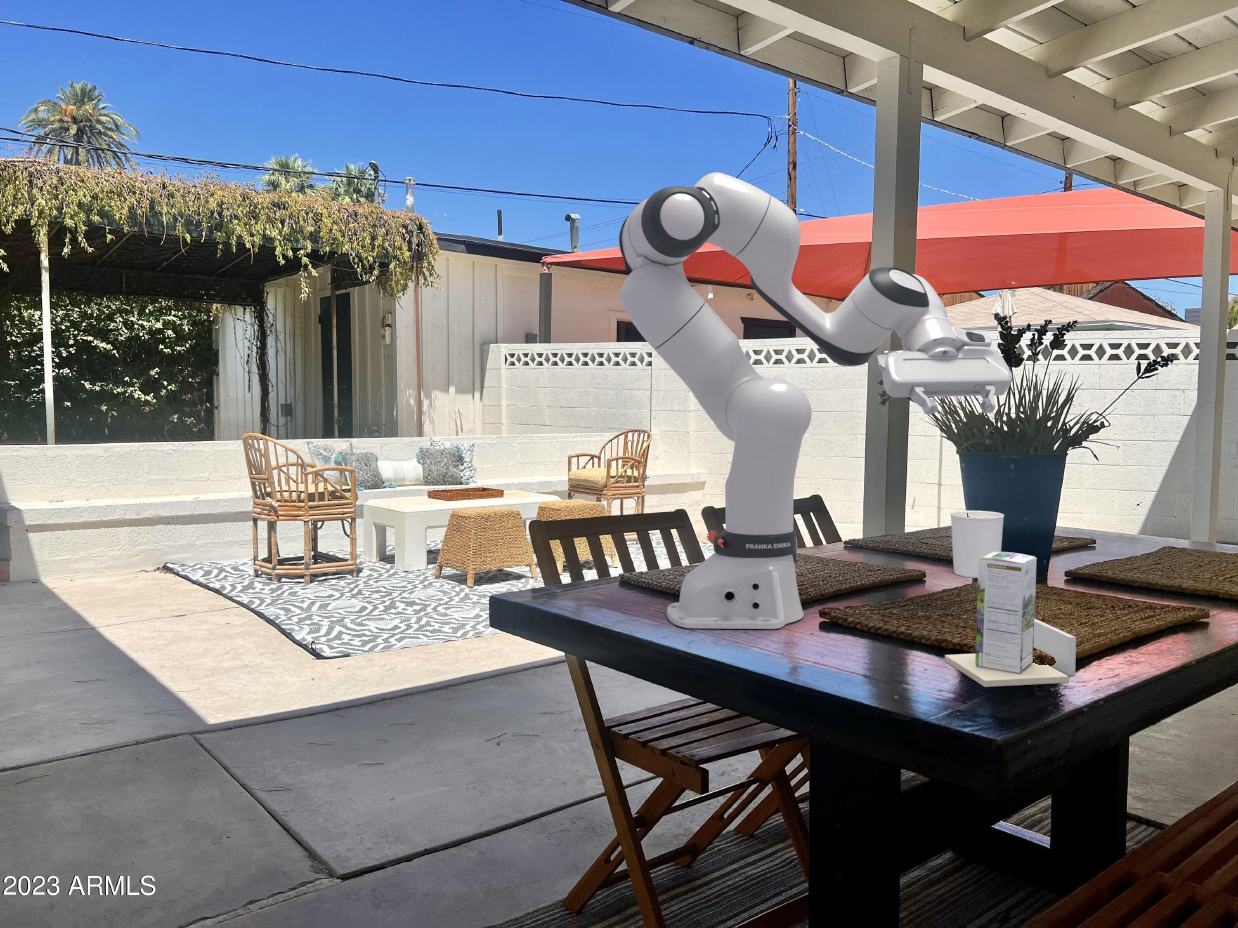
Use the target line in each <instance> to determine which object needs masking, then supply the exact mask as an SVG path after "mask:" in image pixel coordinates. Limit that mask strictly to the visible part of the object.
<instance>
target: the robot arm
mask: <svg viewBox="0 0 1238 928" xmlns="http://www.w3.org/2000/svg"><path fill="white" fill-rule="evenodd" d="M801 235H802V232H801V226H800V222H799V218H798V217H797V215H796V214H795V212H794V211H793V210H792V209H791V208H790V207H789V206H788V205H786V204H785V203H784V202H783V201H780V200H779V199H777V198H776V197H774V196H772V195H770V194H769V193H767V192H766V191H764V190H763V189H760V188H758V187H757V186H755V185H753V184H751V183H748V182H747V181H744V180H742V179H739V178H737V177H733V176H732V175H728V174H725V173H722V172H719V171H717V172H716V171H715V172H711V173H708V174H705V175H704V176H703V177H701V178H700V179H699V180H698V181H697V182H696V183H695V184H694V185H693V186H684V185H672V186H667V187H663V188H661V189H659V190H657V191H655V192H654V193H652V194H651V195H650V196H649V198H645V199H644V200H643V201H641V202H640V203H638V205H636V207H635V208H633V210H632V211H631V212H630V213H629V215H628V216H627V217H626V218H625V219H624V221H623V222H622V225H621V227H620V230H619V235H618V244H619V251H620V254H621V257H622V259H623V262H624V268H625V270H626V274H627V276H626V278H625V279H624V281H623V283H622V286H621V287H620V292H619V301H620V304H621V306H622V308H623V310H624V312H625V313H626V314H627V316H628V317H629V319H630V321H631V322H632V324H633V325H634V327H636V330H638V332H639V333H640V334H641V336H642V337H643V339H644V340H645V341H646V342H647V343H648V344H649V346H650V347H651V348H652V349H653V350H654V351H655V352H656V353H657V354H658V356H659V357H660V358H661V359H662V360H663V361H664V362H665V363H666V364H667V365H668V367H669V368H670V369H671V370H672V371H673V372H674V373H675V374H676V375H677V376H678V377H679V378H680V379H681V381H682V382H683V383H684V385H686V387H688V389H689V391H690V392H691V393H692V395H693V396H694V397H695V399H696V400H697V402H698V403H699V405H700V407H702V409H703V410H704V412H705V413H706V415H707V416H708V417H709V418H710V420H711V421H712V422H713V424H714V425H715V428H717V430H718V431H719V432H720V433H721V434H722V435H723V436H725V438H727V439H728V440H730V441H731V442H734V447H733V453H732V460H731V465H730V469H729V473H728V476H727V478H726V480H725V483H724V485H725V486H724V490H725V491H724V492H725V495H724V496H725V497H724V499H725V500H724V504H725V509H724V510H725V529H723V530H722V531H720V532H719V533H718V532H717V531H716V530H709V531H708V533H706V539H707V540H708V542H710V543H711V544H712V545H713V552H714V553H713V554H710V556H709V557H707V558H706V559H705V560H704V561H702V562H701V563H700V564H699V565H697V566H696V567H695V568H694V569H692V570H691V571H690V572H688V573H687V574H686V575H685V577H684V578H683V581H682V584H681V589H680V592H679V601H678V602H673V603H670V604H669V605H668V606H667V608H666V617H667V619H668V621H670V622H671V623H672V624H674V625H676V626H678V627H682V628H685V629H726V630H729V629H731V630H732V629H739V630H740V629H743V630H744V629H745V630H746V629H747V630H749V629H751V630H753V629H755V630H756V629H757V630H761V629H762V630H763V629H764V630H765V629H766V630H777V629H781V628H783V627H784V626H786V625H788V624H791V623H794V622H797V621H799V620H801V619H802V618H804V616H805V614H804V610H803V607H802V604H801V599H800V594H799V590H798V581H797V575H796V564H797V558H798V540H797V538H798V537H797V531H796V530H795V529H794V491H795V490H794V489H795V488H794V487H795V477H796V470H797V466H798V461H799V456H800V451H801V447H802V442H803V441H802V440H803V437H804V435H805V434H806V433H807V431H808V430H809V427H810V425H811V421H812V406H811V403H810V400H809V398H808V396H807V394H806V393H805V392H804V391H803V390H801V389H800V388H799V387H798V386H796V385H794V384H793V383H791V382H789V381H787V380H784V379H782V378H775V377H769V378H765V377H763V376H761V375H760V374H759V373H758V372H757V370H755V368H754V367H753V365H752V364H751V362H750V360H749V359H748V357H747V356H746V353H744V351H743V349H742V347H741V345H740V344H741V343H740V340H739V338H738V337H737V335H736V334H735V333H734V332H733V330H731V328H730V327H729V326H728V325H727V324H726V323H725V322H724V321H723V319H722V318H721V317H720V316H719V315H718V313H716V312H715V311H714V309H712V307H711V306H710V305H709V304H708V303H707V302H706V301H705V299H704V298H703V297H702V296H701V295H700V294H699V293H698V292H697V290H695V289H694V288H693V287H692V285H691V283H690V282H689V281H688V279H687V276H686V273H685V271H684V267H683V266H684V265H683V262H684V261H685V260H687V259H688V258H689V257H690V256H692V254H694V253H696V252H697V251H698V250H700V249H701V248H702V247H703V245H704V244H710V245H713V246H716V247H719V248H720V249H721V250H723V251H725V252H726V253H728V254H730V255H731V256H733V257H734V258H736V259H737V260H739V261H740V262H741V263H742V264H743V265H744V266H745V267H746V268H747V270H748V271H749V274H750V277H749V278H750V279H749V281H750V284H751V286H752V287H753V289H754V291H755V292H756V293H757V294H758V296H759V297H761V298H762V299H763V300H764V302H766V303H767V304H769V306H770V307H772V308H773V309H774V310H775V311H777V312H778V313H779V314H780V315H781V316H782V317H783V318H785V319H786V320H787V321H788V322H789V323H791V324H792V325H793V326H794V327H795V328H797V329H798V330H799V331H801V332H802V333H803V334H804V335H805V336H806V337H808V338H809V339H810V340H811V341H812V342H813V343H814V344H816V346H817V347H818V348H819V349H820V350H821V351H822V352H823V353H824V354H825V355H826V356H827V357H828V359H830V360H831V361H833V362H834V364H836V365H839V366H842V367H857V366H862V365H865V364H867V363H868V361H870V358H872V356H873V355H874V354H875V353H876V351H877V350H878V349H879V347H880V346H881V344H882V343H884V341H885V340H886V339H888V337H890V335H891V334H892V333H893V332H895V333H896V335H897V336H898V337H899V338H900V339H901V341H900V343H901V347H902V349H898V350H889V349H888V350H886V349H885V350H882V351H881V352H880V353H878V354H877V355H876V357H875V361H876V365H877V366H878V368H879V370H881V375H882V383H883V387H884V390H885V393H886V394H887V395H888V396H890V397H892V398H910V399H911V401H912V402H914V403H915V404H916V405H917V406H919V407H921V408H922V410H923V413H924V414H925V415H934V414H936V411H937V410H938V404H937V403H936V402H937V401H936V400H935V397H977V396H978V397H979V396H980V397H981V399H982V400H981V402H980V404H979V407H980V408H979V409H980V410H981V412H982V414H985V413H986V414H991V413H994V412H995V409H996V403H995V401H994V396H1004V395H1005V393H1006V392H1007V391H1008V389H1009V388H1010V386H1011V384H1012V383H1013V374H1012V371H1011V369H1010V367H1009V366H1008V364H1007V362H1006V361H1005V359H1004V358H1003V356H1002V355H1001V354H1000V352H999V351H998V350H996V349H995V348H993V347H991V346H992V338H991V337H990V336H989V335H987V334H985V333H980V332H979V333H978V332H974V331H971V330H966V329H963V328H961V327H958V326H955V325H954V324H953V323H952V321H950V319H948V314H947V313H948V312H947V310H946V307H945V305H944V303H943V301H942V299H941V297H940V296H939V295H938V293H937V291H936V290H935V289H934V287H933V286H932V285H931V284H930V283H929V281H927V280H926V279H925V278H924V277H922V276H921V275H919V274H913V273H911V272H908V271H907V270H905V269H901V268H899V267H895V266H894V267H892V266H891V267H890V266H889V267H887V266H883V267H882V266H881V267H877V268H872V269H871V270H870V271H869V272H868V273H867V274H866V275H865V276H864V277H863V278H862V280H860V282H859V283H858V284H857V285H855V287H854V288H853V289H852V291H851V292H850V294H849V295H848V296H847V297H846V298H845V299H844V301H843V302H842V303H841V304H839V306H838V307H837V308H836V310H833V311H832V312H824V311H823V309H822V308H820V307H819V306H817V305H816V304H815V303H814V302H813V301H812V300H810V299H809V298H808V297H807V296H806V295H805V294H803V293H802V292H800V291H799V289H797V287H796V286H795V285H794V284H793V280H792V276H793V272H794V269H795V265H796V262H797V259H798V255H799V252H800V247H801V246H800V245H801V237H802V236H801ZM930 397H931V399H930ZM932 397H933V398H934V399H933V398H932Z"/></svg>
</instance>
